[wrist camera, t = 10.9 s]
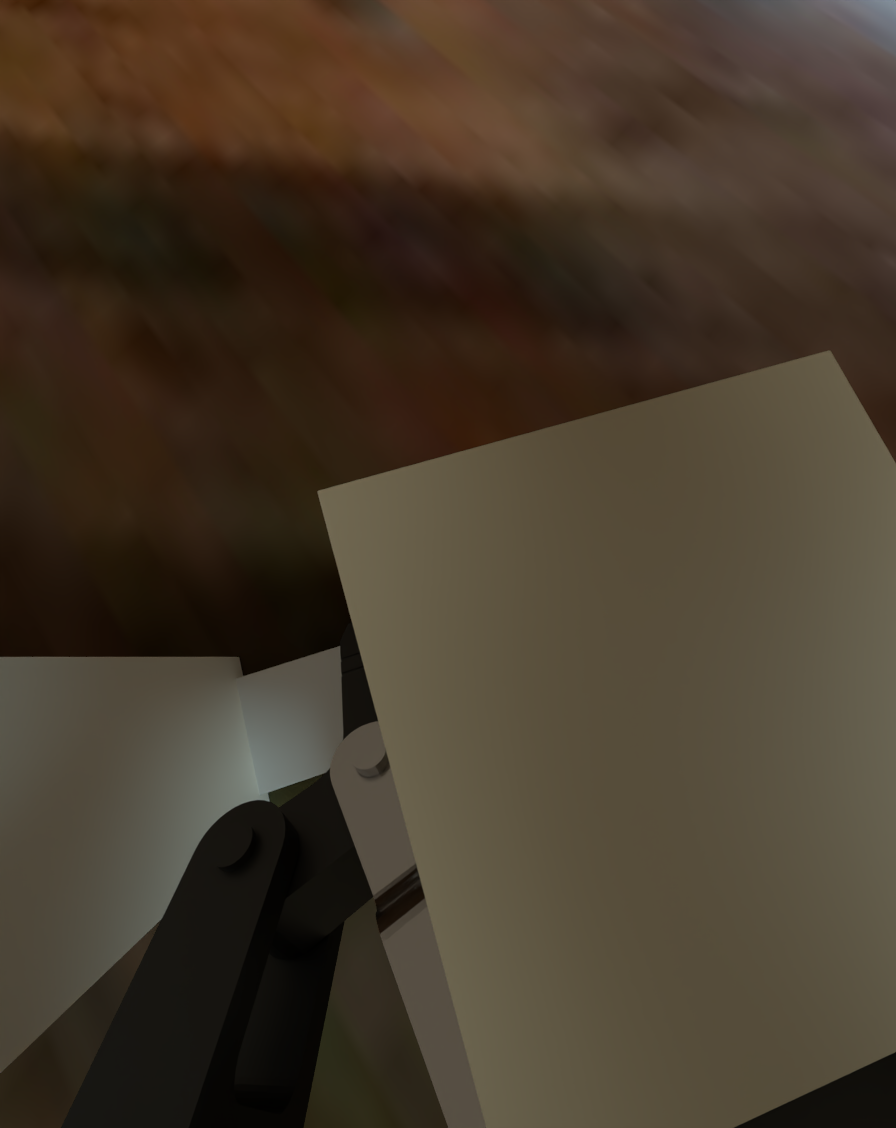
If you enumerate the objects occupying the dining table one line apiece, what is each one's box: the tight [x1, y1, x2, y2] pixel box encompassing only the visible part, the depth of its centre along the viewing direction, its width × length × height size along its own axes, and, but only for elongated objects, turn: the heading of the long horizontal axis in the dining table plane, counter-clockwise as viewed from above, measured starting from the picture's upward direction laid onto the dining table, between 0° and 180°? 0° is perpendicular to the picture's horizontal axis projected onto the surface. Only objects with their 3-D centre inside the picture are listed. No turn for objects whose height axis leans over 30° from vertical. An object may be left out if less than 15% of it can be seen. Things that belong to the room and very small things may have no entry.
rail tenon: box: [317, 350, 896, 1128], centre depth 10 cm, size 4×4×14 cm
